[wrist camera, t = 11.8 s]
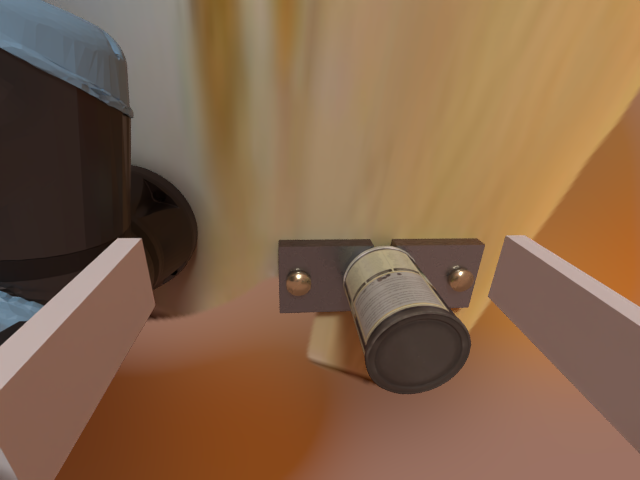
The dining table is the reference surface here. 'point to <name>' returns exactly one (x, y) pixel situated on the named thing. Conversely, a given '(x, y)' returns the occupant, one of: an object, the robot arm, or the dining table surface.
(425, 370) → the coffee can
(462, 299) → the right end plate
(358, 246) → the left end plate
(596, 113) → the dining table surface
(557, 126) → the dining table surface
